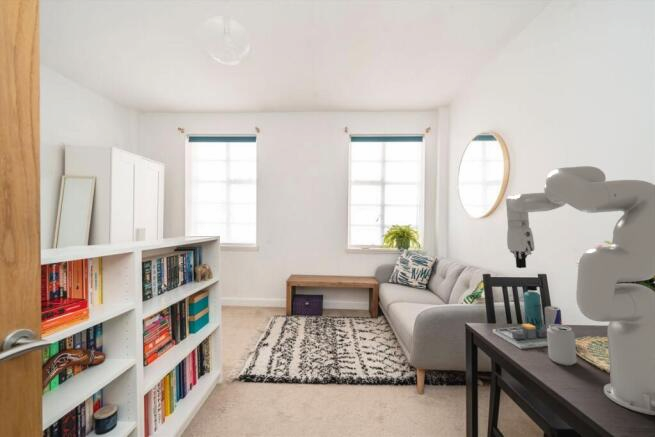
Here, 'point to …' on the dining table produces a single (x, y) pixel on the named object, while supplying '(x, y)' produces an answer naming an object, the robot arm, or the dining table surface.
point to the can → (561, 344)
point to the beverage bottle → (532, 307)
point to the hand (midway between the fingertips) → (521, 267)
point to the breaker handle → (529, 331)
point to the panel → (522, 337)
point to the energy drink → (552, 316)
